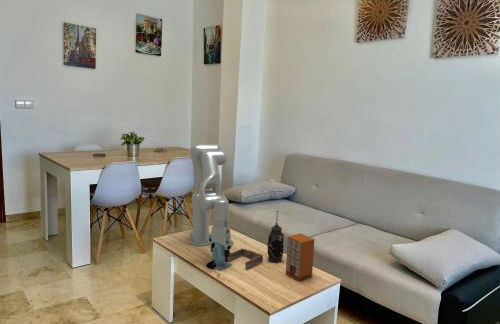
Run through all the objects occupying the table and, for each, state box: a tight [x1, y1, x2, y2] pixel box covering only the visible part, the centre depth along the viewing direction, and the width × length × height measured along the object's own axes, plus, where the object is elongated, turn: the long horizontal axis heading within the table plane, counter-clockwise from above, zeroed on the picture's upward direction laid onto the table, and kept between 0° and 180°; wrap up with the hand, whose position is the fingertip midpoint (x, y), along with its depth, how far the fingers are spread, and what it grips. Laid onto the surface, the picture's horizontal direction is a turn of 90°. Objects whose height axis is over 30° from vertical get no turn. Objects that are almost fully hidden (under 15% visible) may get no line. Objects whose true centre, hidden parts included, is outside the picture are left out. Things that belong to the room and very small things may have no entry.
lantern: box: [266, 210, 285, 263], centre depth 209 cm, size 10×9×28 cm
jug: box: [211, 243, 226, 266], centre depth 200 cm, size 8×6×12 cm
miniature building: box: [285, 232, 316, 282], centre depth 191 cm, size 10×9×20 cm
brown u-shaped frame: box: [225, 248, 264, 271], centre depth 206 cm, size 14×14×4 cm
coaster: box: [213, 261, 233, 271], centre depth 201 cm, size 9×9×1 cm
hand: (220, 253), depth 200 cm, fingers open, 9 cm apart
